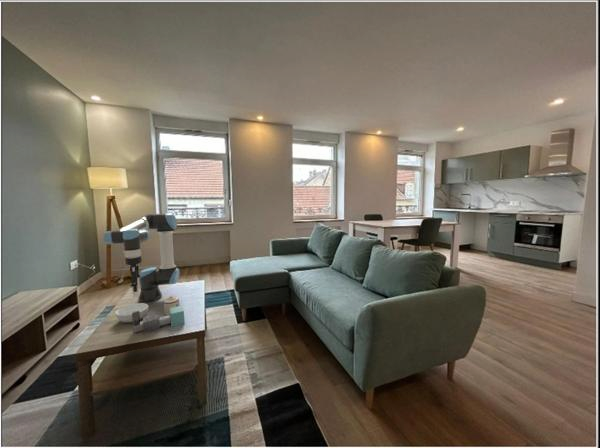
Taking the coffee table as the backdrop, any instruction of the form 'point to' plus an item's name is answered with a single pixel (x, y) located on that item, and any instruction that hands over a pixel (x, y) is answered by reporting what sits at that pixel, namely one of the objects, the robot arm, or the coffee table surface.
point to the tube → (139, 325)
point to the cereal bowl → (131, 311)
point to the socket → (177, 316)
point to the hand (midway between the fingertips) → (136, 292)
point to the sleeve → (151, 323)
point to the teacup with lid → (170, 304)
